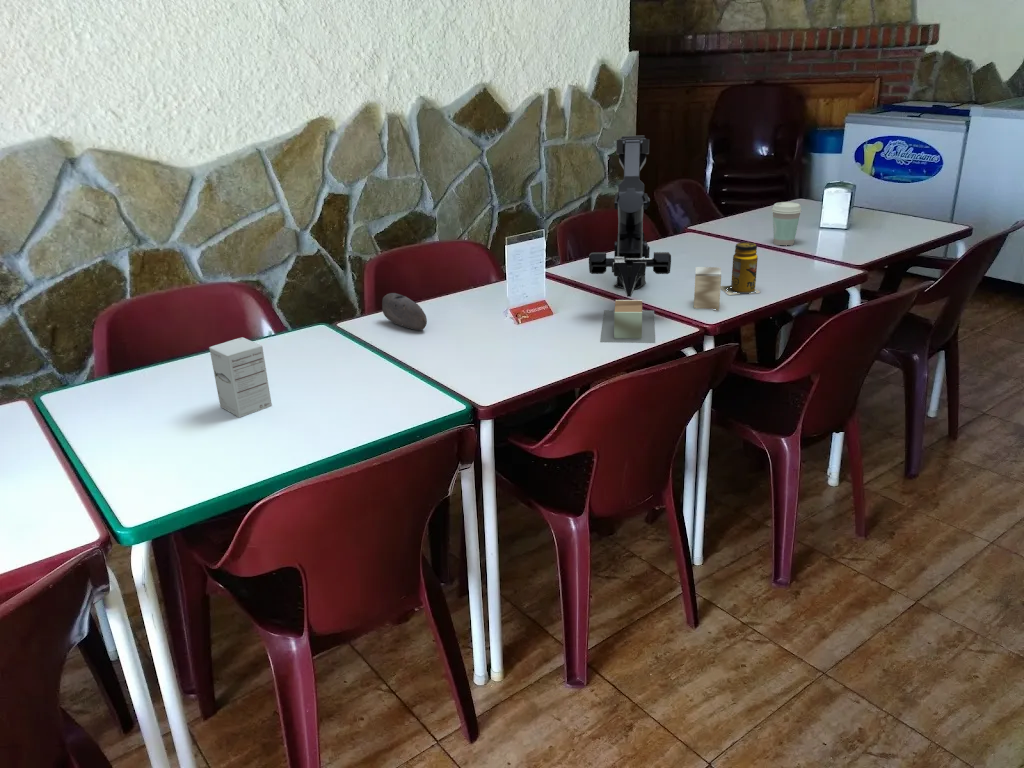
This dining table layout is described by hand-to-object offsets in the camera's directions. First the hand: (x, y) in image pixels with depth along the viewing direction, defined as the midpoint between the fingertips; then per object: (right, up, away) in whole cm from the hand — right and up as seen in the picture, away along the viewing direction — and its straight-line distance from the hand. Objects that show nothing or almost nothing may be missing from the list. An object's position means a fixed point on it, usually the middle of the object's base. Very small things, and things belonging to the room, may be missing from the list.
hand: (628, 295), depth 194 cm
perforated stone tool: (-52, -7, +9) cm, 53 cm away
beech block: (+21, -1, +14) cm, 25 cm away
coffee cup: (+56, +22, +66) cm, 89 cm away
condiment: (+32, +4, +25) cm, 41 cm away
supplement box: (-78, -25, -31) cm, 87 cm away
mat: (0, -7, +2) cm, 7 cm away
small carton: (0, -4, +1) cm, 4 cm away
